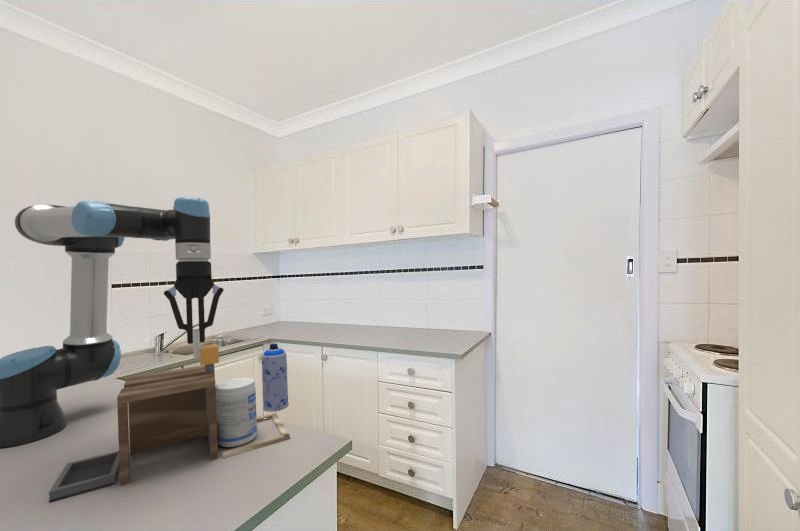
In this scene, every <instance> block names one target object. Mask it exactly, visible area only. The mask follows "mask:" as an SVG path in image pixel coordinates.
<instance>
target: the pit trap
mask: <svg viewBox="0 0 800 531" xmlns="http://www.w3.org/2000/svg"><path fill="white" fill-rule="evenodd" d="M119 476H120V466H119V450H117V451H112V452H109V453H108V452H107V453H105V454H99V455H96V456H92V457H89V458H83V459H80V460H76V461H71V462H67V463H66V465H65V466H64V468H63V469H62V471H61V473H60V474H59V475H58V477H57V479H56V480H55V482H54V484H53V486H52V487H51V489H50V490H49V492H48V496H49V497H48V498H49V499H48V500H49V503H53V502H56V501H59V500H63V499H68V498H70V497H74V496H77V495H81V494H85V493H87V492H92V491H95V490H99V489H103V488H106V487H109V486H113V485H116V483H117V480H118V477H119Z"/></svg>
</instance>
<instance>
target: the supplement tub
mask: <svg viewBox="0 0 800 531" xmlns="http://www.w3.org/2000/svg"><path fill="white" fill-rule="evenodd" d="M255 381H256V380H255V379H254V378H252V377H236V378H234V377H233V378H231V379H226V380H223V381H221V382H218V383H217V384H215V388H216V416H217V445H219V446H220V447H223V448H234V447H235V448H236V447H241V446H244V445H246V444H248V443H250V442H251V441H252V440H254V439H255V437H256V436H257V434H258V426H257V425H258V424H257V423H258V422H257V418H256V417H257V398H256V396H257V393H256V383H255Z"/></svg>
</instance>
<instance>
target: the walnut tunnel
mask: <svg viewBox="0 0 800 531" xmlns="http://www.w3.org/2000/svg"><path fill="white" fill-rule="evenodd" d="M207 387H208V405H209V434H210V449H209V455H210V456H209V457H210V461H213V460H216V459H218V458H219V450H218V448H219V447H218V445H219V444H218V443H217V416H216V377H214V373H211V374H205V365H197V366H191V367H185V368H179V369H173V370H172V369H171V370H165V371H159V372H153V373H147V374H140V375H133V376H132V375H131V376H128V377H127V379H126V380H125V382H124V384H123V388H120V391H119V393H118V394H117V397H116V403H117V406H116V407H117V431H118V433H117V434H118V436H117V437H118V451H119V466H120V472H119V486H120V487H122V486H125V485H128V484H129V485H130V482H131V465H130V461H131V459H130V458H131V457H130V456H131V455H135V454H139V453H142V452H146V451H151V450H155V449H158V448H162V447H167V446H170V445H174V444H178V443H183V442H186V441H190V440H194V439H199V438H203V437H208V430H207V412H206V388H207Z"/></svg>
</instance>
